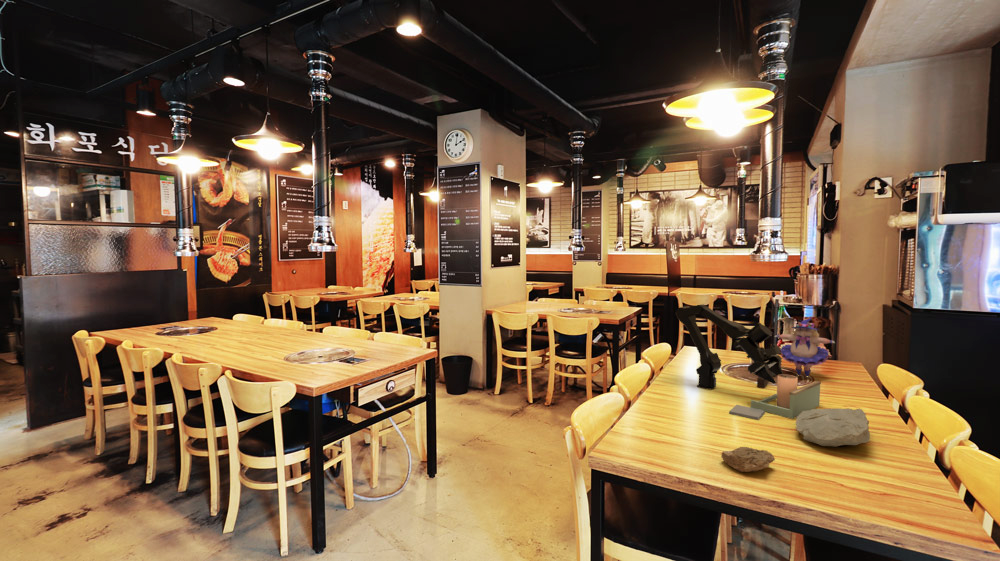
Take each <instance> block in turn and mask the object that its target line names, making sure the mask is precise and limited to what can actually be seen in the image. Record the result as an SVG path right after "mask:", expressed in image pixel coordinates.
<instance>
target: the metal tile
mask: <svg viewBox="0 0 1000 561" xmlns="http://www.w3.org/2000/svg"><path fill="white" fill-rule="evenodd" d="M728 412H729V413H728V414H729V415H733V416H737V417H743V418H746V419H752V420H756V421H759V420H760V419H762V417H763V416H764V414H765V413H766V412H765V410H760V409H755V408H751V406H750V407H749V406H745V405H739V404H736V405H734V407H732V408H731V409H730V410H729V411H728Z"/></svg>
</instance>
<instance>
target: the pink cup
mask: <svg viewBox="0 0 1000 561" xmlns="http://www.w3.org/2000/svg"><path fill="white" fill-rule="evenodd" d="M798 379H799V378H798V376H797V375H796V376H795V375H792V374H785V373H784V374H779V375H778V376H777V379H776V380H777V381H776V382H777V383H776V394H777V399H776V405H775V406H778V407H782V408H786V409H790V392H791V391H794V390H796V389H798Z"/></svg>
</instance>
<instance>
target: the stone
mask: <svg viewBox="0 0 1000 561" xmlns="http://www.w3.org/2000/svg"><path fill="white" fill-rule="evenodd" d="M869 423H870V421H869V420H868V418H867V414H866V413H865V412H864V410H863V409H862V408H858V409H857V408H856V409H852V408H839V407H838V408H814V409H812V410H808V411H802V412H801V413H800V414H799V415H798V417H796V421H795V429H796V431H798V432H799V433H800V434H801V435H802V436H803V440H805V441H807V442H810V443H813V444H815V445H816V444H817V445H819V446H821V447H836V448H837V447H840V446H845V445H846V446H847V445H848V446H857V445H860V444H867V443H869V441H871V440H870V439H871V437H870V431H869V428H870V426H869Z"/></svg>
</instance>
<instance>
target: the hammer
mask: <svg viewBox="0 0 1000 561" xmlns="http://www.w3.org/2000/svg"><path fill="white" fill-rule="evenodd" d="M771 356H773V355H771ZM768 369H769V368H768ZM768 371H769V373H770V374H771V376H772V377H775V376H776V375H775V374H774V373H773V372H771V371H770V370H768ZM768 382H769V381H767V380H765V379H763V378H761V377H759V376H757V380H756V387H757V388H761V389H765V388H766V387H767V385H768Z"/></svg>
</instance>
